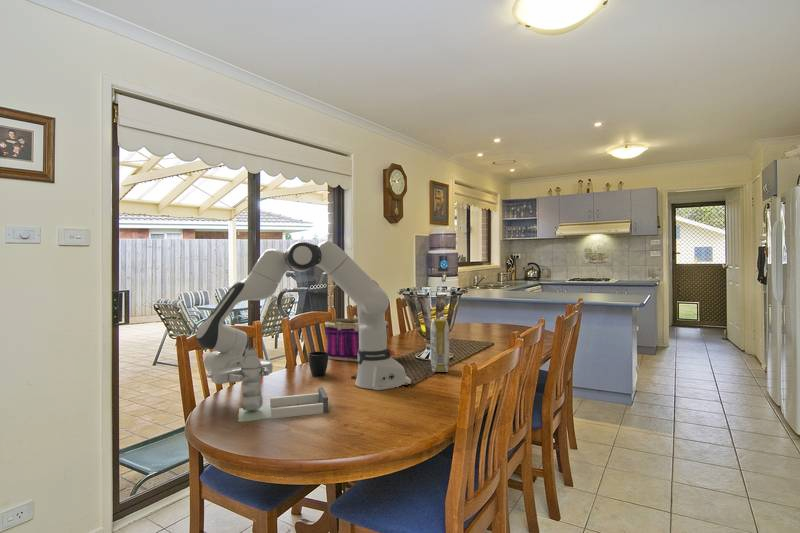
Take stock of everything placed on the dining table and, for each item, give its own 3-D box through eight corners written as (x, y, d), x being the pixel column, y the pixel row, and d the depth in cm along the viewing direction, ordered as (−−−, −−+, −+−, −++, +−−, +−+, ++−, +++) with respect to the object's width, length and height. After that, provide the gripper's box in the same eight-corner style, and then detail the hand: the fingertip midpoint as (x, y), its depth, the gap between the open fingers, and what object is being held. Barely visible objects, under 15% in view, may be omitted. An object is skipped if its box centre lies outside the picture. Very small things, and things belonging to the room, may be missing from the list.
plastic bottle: (257, 412, 147) (256, 349, 148) (237, 412, 148) (236, 350, 149) (266, 408, 153) (265, 347, 154) (247, 408, 154) (246, 348, 155)
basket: (392, 355, 233) (391, 277, 231) (376, 364, 214) (375, 279, 213) (338, 351, 244) (337, 276, 243) (319, 359, 226) (318, 278, 224)
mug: (334, 371, 203) (334, 349, 203) (323, 378, 191) (323, 355, 191) (317, 370, 205) (316, 349, 204) (305, 377, 193) (305, 354, 193)
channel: (322, 400, 162) (322, 386, 162) (328, 412, 150) (328, 397, 150) (270, 406, 156) (270, 391, 156) (271, 418, 144) (271, 403, 144)
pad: (270, 406, 156) (270, 405, 156) (271, 418, 145) (271, 417, 145) (239, 409, 153) (239, 408, 153) (237, 422, 142) (237, 420, 142)
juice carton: (449, 373, 197) (449, 318, 196) (431, 373, 197) (431, 318, 197) (447, 368, 206) (447, 315, 206) (430, 368, 207) (430, 315, 206)
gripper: (203, 365, 150) (223, 372, 140) (259, 355, 165) (281, 360, 156) (203, 384, 150) (224, 392, 141) (259, 372, 165) (281, 379, 156)
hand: (254, 376), depth 148 cm, fingers open, 8 cm apart
